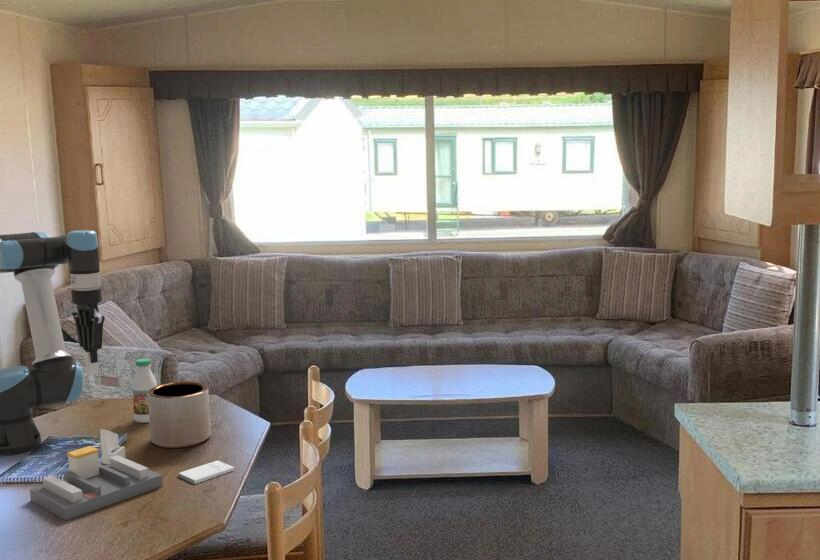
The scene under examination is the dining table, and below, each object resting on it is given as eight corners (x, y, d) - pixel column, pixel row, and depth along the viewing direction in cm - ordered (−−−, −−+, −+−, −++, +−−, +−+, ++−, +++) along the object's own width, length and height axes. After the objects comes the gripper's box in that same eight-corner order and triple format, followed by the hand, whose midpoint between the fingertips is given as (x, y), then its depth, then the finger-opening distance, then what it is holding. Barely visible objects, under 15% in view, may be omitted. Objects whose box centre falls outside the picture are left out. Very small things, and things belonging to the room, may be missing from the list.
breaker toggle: (69, 477, 214) (67, 452, 212) (91, 470, 218) (90, 445, 217) (77, 481, 211) (75, 456, 210) (100, 474, 215) (98, 449, 214)
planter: (215, 444, 245) (212, 393, 243) (153, 453, 239) (149, 400, 237) (206, 426, 262) (204, 378, 259) (148, 434, 255) (145, 385, 253)
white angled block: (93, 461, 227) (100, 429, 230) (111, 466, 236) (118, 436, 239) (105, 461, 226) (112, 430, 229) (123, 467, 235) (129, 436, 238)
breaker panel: (30, 500, 207) (28, 480, 206) (125, 469, 227) (123, 450, 226) (66, 520, 196) (64, 498, 195) (162, 486, 215) (161, 466, 214)
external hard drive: (177, 478, 221) (217, 465, 230) (195, 486, 216) (234, 472, 225) (177, 472, 221) (216, 459, 230) (194, 480, 216) (234, 466, 225)
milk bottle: (134, 417, 272) (130, 358, 269) (159, 414, 274) (155, 356, 271) (134, 424, 265) (130, 363, 262) (159, 421, 267) (155, 361, 264)
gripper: (60, 287, 223) (67, 372, 227) (85, 292, 215) (92, 380, 218) (87, 284, 229) (93, 367, 232) (111, 288, 220) (118, 374, 224)
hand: (92, 373), depth 225 cm, fingers closed
